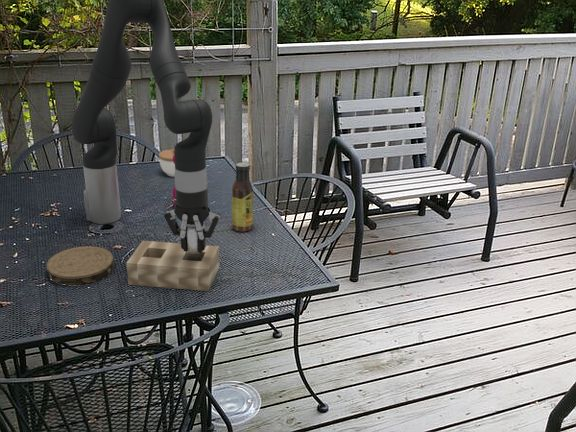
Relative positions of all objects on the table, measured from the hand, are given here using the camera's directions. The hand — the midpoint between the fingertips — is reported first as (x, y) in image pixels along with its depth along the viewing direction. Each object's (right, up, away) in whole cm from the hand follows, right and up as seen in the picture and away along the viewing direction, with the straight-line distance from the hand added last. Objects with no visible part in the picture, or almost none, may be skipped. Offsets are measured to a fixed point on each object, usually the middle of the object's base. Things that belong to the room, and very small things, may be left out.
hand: (193, 250), depth 143 cm
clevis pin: (0, -4, +2) cm, 4 cm away
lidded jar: (-18, +24, +70) cm, 76 cm away
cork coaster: (-29, -6, +5) cm, 30 cm away
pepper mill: (-10, +11, +43) cm, 46 cm away
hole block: (-5, -7, +4) cm, 9 cm away
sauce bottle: (+10, +5, +30) cm, 32 cm away
